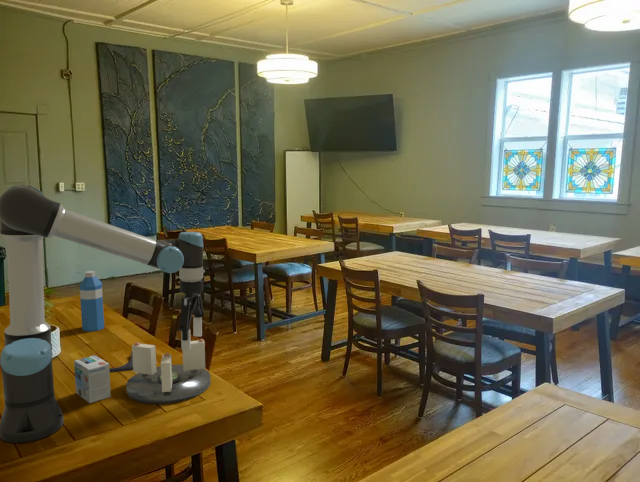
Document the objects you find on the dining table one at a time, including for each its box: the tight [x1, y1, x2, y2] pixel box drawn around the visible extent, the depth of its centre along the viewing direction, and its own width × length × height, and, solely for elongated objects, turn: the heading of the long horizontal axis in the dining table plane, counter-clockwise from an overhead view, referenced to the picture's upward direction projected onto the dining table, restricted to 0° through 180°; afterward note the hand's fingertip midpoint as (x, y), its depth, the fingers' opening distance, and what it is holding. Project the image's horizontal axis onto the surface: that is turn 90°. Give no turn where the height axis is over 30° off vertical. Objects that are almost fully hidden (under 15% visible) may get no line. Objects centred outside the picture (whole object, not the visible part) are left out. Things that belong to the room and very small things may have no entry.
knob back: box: [131, 341, 157, 377], centre depth 169 cm, size 7×3×11 cm, turn 73°
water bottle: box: [79, 270, 105, 332], centre depth 225 cm, size 9×9×25 cm
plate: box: [125, 364, 211, 405], centre depth 167 cm, size 26×26×4 cm
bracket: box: [109, 350, 133, 373], centre depth 187 cm, size 14×15×3 cm
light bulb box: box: [73, 355, 112, 404], centre depth 160 cm, size 11×7×11 cm, turn 47°
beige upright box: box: [182, 338, 206, 373], centre depth 172 cm, size 7×3×11 cm, turn 108°
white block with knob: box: [160, 352, 173, 392], centre depth 158 cm, size 7×3×11 cm, turn 13°
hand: (192, 342), depth 171 cm, fingers open, 13 cm apart
